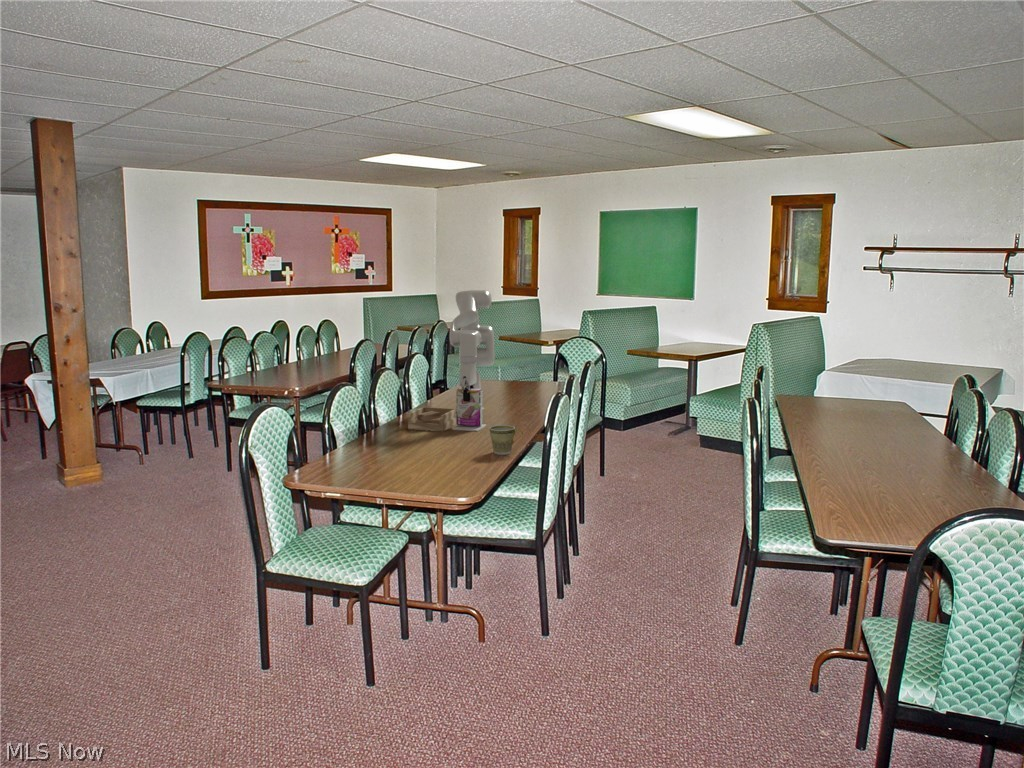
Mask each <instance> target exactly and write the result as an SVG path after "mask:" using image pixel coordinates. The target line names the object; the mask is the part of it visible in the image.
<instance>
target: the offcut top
mask: <svg viewBox="0 0 1024 768" xmlns="http://www.w3.org/2000/svg"><path fill="white" fill-rule="evenodd" d="M436 418H440V412H435V411H430V412H425V413H420V414H417V420H422V421H428V420H432V419H436Z"/></svg>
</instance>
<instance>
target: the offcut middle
mask: <svg viewBox="0 0 1024 768" xmlns="http://www.w3.org/2000/svg"><path fill="white" fill-rule="evenodd" d="M415 423H429V424H441V418H436V419H432V420H428V421H422V420H417V419H416V420H415Z"/></svg>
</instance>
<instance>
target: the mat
mask: <svg viewBox="0 0 1024 768" xmlns="http://www.w3.org/2000/svg"><path fill="white" fill-rule="evenodd" d="M486 427H487V424H486V423H485V424H484V423H483V424H482V425H481V426H464V425H457V424H456V425H455V426H453V427H451V430H452V431H466V432H467V431H468V432H478V431H480V430H482V429H484V428H486Z"/></svg>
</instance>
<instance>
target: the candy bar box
mask: <svg viewBox="0 0 1024 768" xmlns="http://www.w3.org/2000/svg"><path fill="white" fill-rule="evenodd" d="M467 389H468V388H467ZM469 393H470V402H467V401H463V389H462V387H459V388H457V389H456V409H457V424H456V426H457V425H464V426H481V425H482V424H484V423H483V411H484V410H483V407H484V406H483V400H484V399H483V395H484V394H483V393H484V392H483V389H482V388H481V389H470V390H469Z"/></svg>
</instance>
